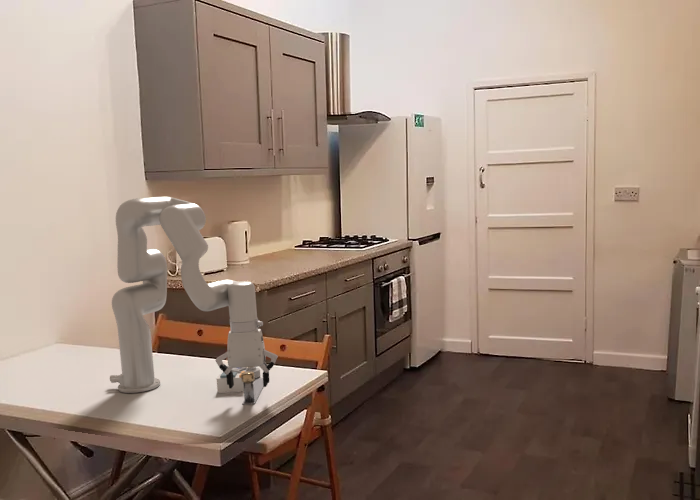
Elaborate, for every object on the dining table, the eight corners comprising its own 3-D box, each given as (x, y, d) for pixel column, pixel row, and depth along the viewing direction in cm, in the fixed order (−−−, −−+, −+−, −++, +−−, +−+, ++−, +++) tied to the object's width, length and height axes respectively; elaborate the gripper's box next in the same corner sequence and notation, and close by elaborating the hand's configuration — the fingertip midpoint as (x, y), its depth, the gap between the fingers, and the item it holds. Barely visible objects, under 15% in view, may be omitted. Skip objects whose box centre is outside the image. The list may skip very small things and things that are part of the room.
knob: (242, 403, 194) (240, 375, 193) (244, 399, 197) (242, 371, 196) (254, 402, 193) (252, 374, 193) (257, 398, 197) (255, 371, 196)
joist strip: (242, 404, 193) (242, 403, 193) (256, 379, 217) (256, 378, 217) (254, 404, 193) (254, 403, 193) (267, 378, 217) (267, 378, 217)
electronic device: (229, 342, 229) (261, 346, 219) (232, 371, 230) (264, 376, 220) (217, 346, 225) (248, 350, 215) (220, 376, 226) (251, 381, 216)
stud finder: (217, 393, 206) (216, 376, 205) (220, 388, 210) (219, 372, 210) (244, 392, 206) (243, 375, 205) (247, 387, 210) (245, 370, 210)
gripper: (276, 321, 196) (281, 380, 198) (216, 325, 197) (220, 383, 199) (273, 327, 189) (277, 388, 191) (210, 330, 190) (215, 391, 191)
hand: (248, 386), depth 195 cm, fingers open, 9 cm apart
